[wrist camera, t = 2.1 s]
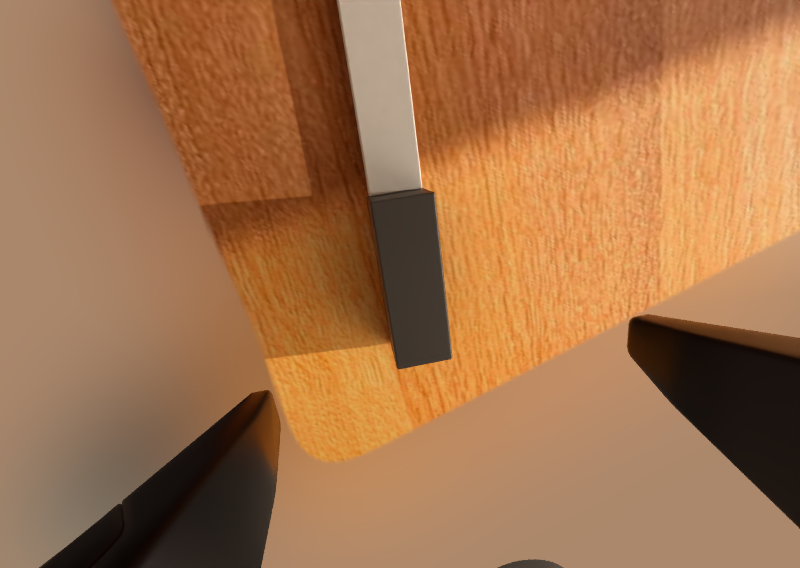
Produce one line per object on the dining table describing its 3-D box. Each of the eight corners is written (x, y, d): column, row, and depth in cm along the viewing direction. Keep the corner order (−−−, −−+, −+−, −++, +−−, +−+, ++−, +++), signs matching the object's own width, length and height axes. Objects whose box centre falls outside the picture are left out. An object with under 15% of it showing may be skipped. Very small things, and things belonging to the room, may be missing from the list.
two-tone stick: (439, 334, 18) (453, 359, 16) (391, 343, 18) (397, 370, 16) (386, -118, 13) (395, -179, 10) (314, -112, 12) (308, -173, 10)
